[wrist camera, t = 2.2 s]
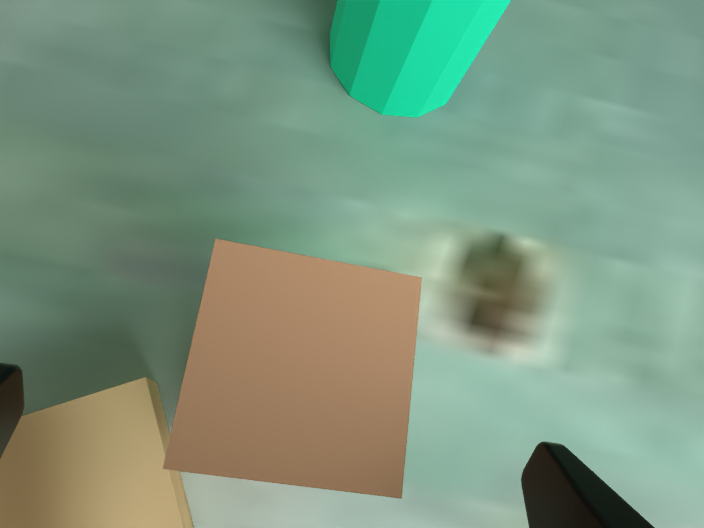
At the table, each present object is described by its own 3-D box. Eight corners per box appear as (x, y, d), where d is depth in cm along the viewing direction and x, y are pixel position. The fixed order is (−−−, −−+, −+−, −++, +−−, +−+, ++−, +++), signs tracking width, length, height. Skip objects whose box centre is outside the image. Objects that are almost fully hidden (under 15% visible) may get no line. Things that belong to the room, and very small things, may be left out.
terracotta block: (324, 463, 17) (401, 498, 9) (202, 447, 17) (162, 469, 8) (340, 344, 19) (421, 277, 10) (227, 325, 18) (215, 238, 10)
